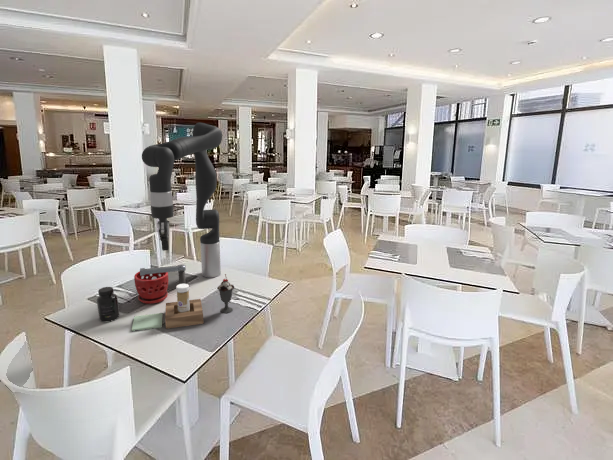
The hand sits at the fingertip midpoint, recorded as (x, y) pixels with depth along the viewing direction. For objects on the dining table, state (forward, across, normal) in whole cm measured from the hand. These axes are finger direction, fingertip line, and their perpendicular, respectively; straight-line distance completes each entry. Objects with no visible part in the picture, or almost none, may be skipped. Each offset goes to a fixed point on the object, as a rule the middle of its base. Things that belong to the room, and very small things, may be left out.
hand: (165, 249), depth 132 cm
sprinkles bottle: (+27, -3, -5) cm, 28 cm away
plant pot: (+27, +17, +8) cm, 33 cm away
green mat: (+27, -3, +8) cm, 28 cm away
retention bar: (+11, +7, +2) cm, 13 cm away
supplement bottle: (+27, +4, +22) cm, 35 cm away
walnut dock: (+27, 0, -5) cm, 28 cm away
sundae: (+27, -1, -21) cm, 35 cm away
